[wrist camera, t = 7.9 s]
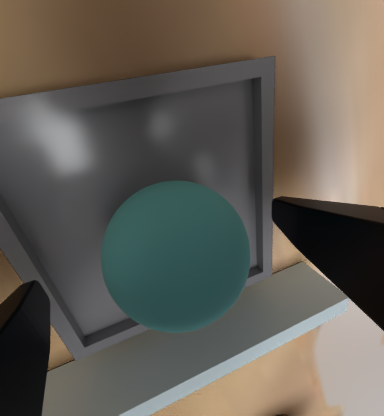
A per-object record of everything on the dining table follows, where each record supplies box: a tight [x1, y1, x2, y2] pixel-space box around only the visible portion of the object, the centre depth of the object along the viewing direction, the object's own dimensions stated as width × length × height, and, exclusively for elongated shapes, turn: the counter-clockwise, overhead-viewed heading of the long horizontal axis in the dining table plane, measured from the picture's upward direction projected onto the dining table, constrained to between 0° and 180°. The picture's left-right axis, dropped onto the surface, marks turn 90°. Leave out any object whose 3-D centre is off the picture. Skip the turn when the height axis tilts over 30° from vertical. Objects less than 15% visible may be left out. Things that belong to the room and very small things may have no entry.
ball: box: [101, 180, 250, 333], centre depth 8 cm, size 5×5×5 cm
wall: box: [42, 261, 349, 416], centre depth 13 cm, size 18×1×4 cm, turn 99°
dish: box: [0, 56, 275, 361], centre depth 10 cm, size 11×11×1 cm
